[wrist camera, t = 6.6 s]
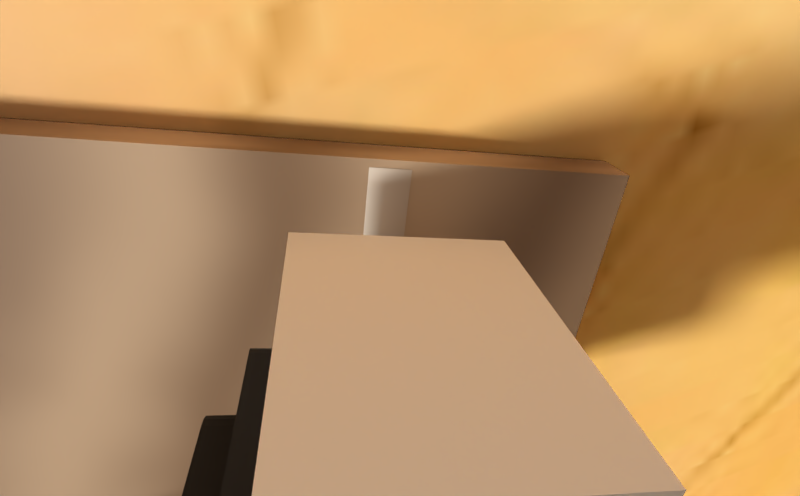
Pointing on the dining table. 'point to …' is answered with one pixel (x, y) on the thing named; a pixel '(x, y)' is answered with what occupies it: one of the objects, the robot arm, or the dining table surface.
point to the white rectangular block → (436, 381)
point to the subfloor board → (218, 273)
